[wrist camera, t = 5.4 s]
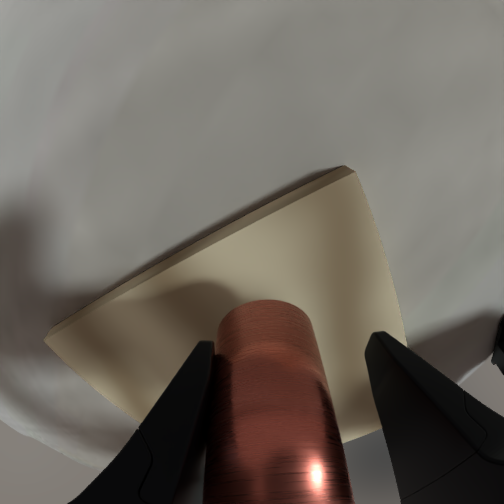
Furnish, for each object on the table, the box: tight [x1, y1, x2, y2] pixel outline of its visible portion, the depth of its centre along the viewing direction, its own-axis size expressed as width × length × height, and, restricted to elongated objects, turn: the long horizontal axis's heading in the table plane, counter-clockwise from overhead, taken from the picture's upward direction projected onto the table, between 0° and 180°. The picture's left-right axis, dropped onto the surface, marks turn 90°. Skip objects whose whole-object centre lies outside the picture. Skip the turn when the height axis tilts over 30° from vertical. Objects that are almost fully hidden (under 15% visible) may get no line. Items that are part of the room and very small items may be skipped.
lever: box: [202, 299, 355, 504], centre depth 11 cm, size 4×19×8 cm, turn 7°
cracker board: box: [43, 165, 407, 443], centre depth 14 cm, size 20×20×4 cm
